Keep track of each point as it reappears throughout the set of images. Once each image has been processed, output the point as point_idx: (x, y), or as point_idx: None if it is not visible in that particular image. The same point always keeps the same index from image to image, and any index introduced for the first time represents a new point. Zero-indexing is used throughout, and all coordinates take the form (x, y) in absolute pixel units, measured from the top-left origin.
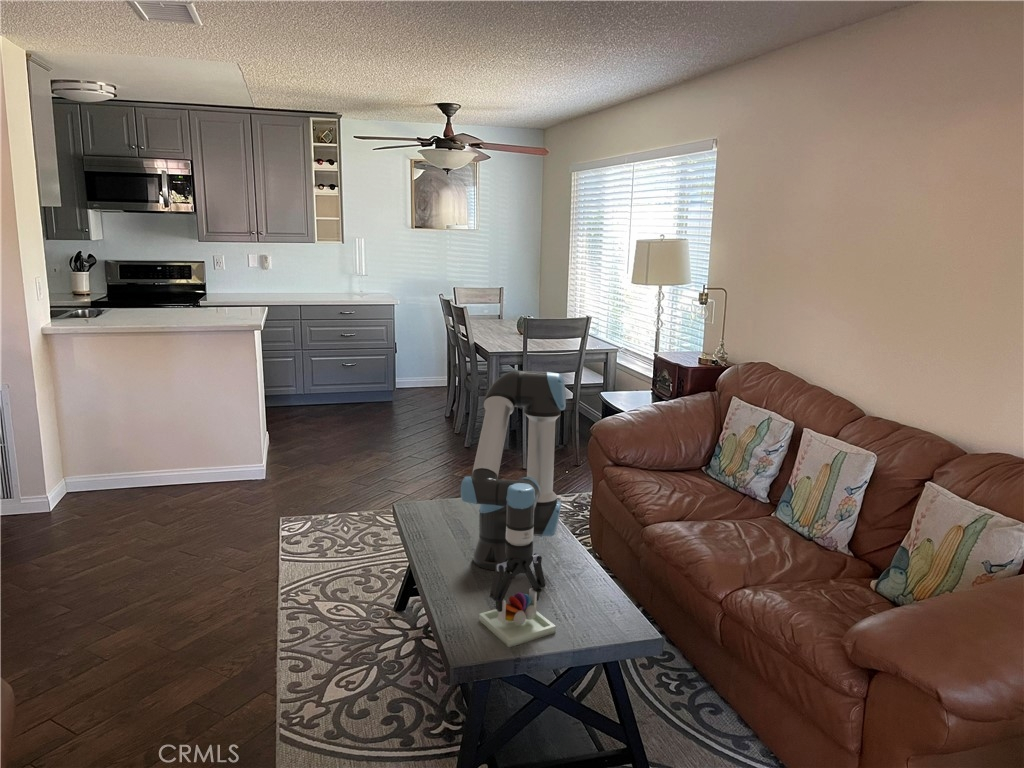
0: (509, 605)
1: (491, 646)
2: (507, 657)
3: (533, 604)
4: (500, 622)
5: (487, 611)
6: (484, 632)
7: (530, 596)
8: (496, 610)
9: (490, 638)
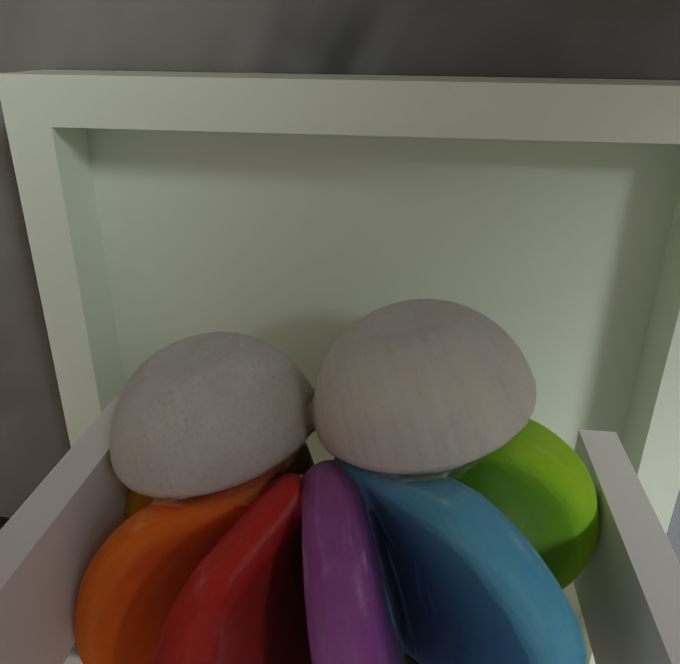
0: (179, 592)
1: (14, 509)
2: (76, 652)
3: (591, 620)
4: (228, 286)
5: (121, 75)
6: (26, 315)
7: (636, 637)
8: (249, 119)
9: (45, 421)
